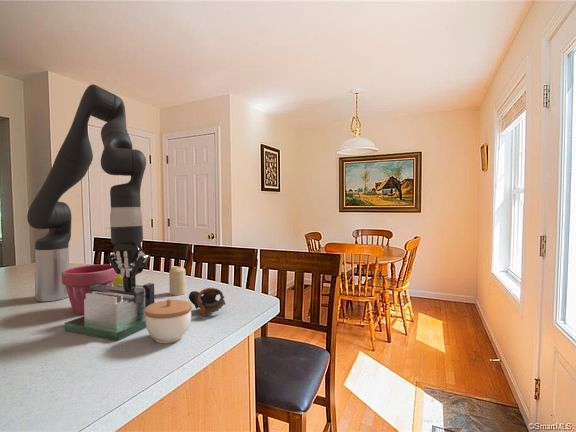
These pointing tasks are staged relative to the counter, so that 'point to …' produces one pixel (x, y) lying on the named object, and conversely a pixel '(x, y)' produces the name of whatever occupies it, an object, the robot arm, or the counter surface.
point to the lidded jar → (168, 320)
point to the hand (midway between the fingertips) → (129, 290)
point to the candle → (177, 280)
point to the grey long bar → (120, 291)
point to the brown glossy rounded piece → (207, 300)
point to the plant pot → (85, 282)
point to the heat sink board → (105, 330)
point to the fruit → (118, 280)
